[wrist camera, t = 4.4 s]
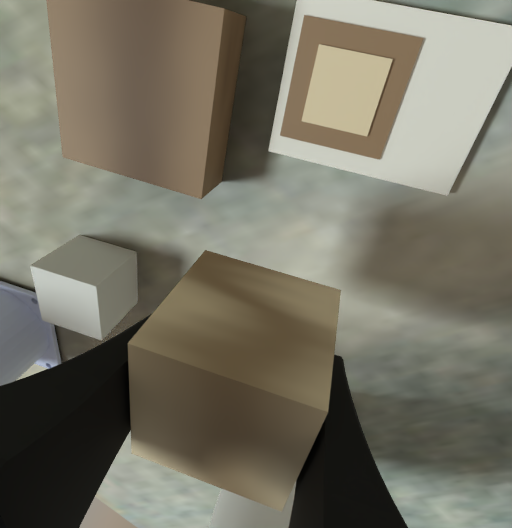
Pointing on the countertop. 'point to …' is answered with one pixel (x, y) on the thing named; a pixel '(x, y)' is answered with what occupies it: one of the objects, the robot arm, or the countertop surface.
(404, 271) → the countertop surface
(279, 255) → the countertop surface
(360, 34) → the card
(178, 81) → the walnut block
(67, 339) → the countertop surface
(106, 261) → the grey cube
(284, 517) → the can
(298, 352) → the maple cube
